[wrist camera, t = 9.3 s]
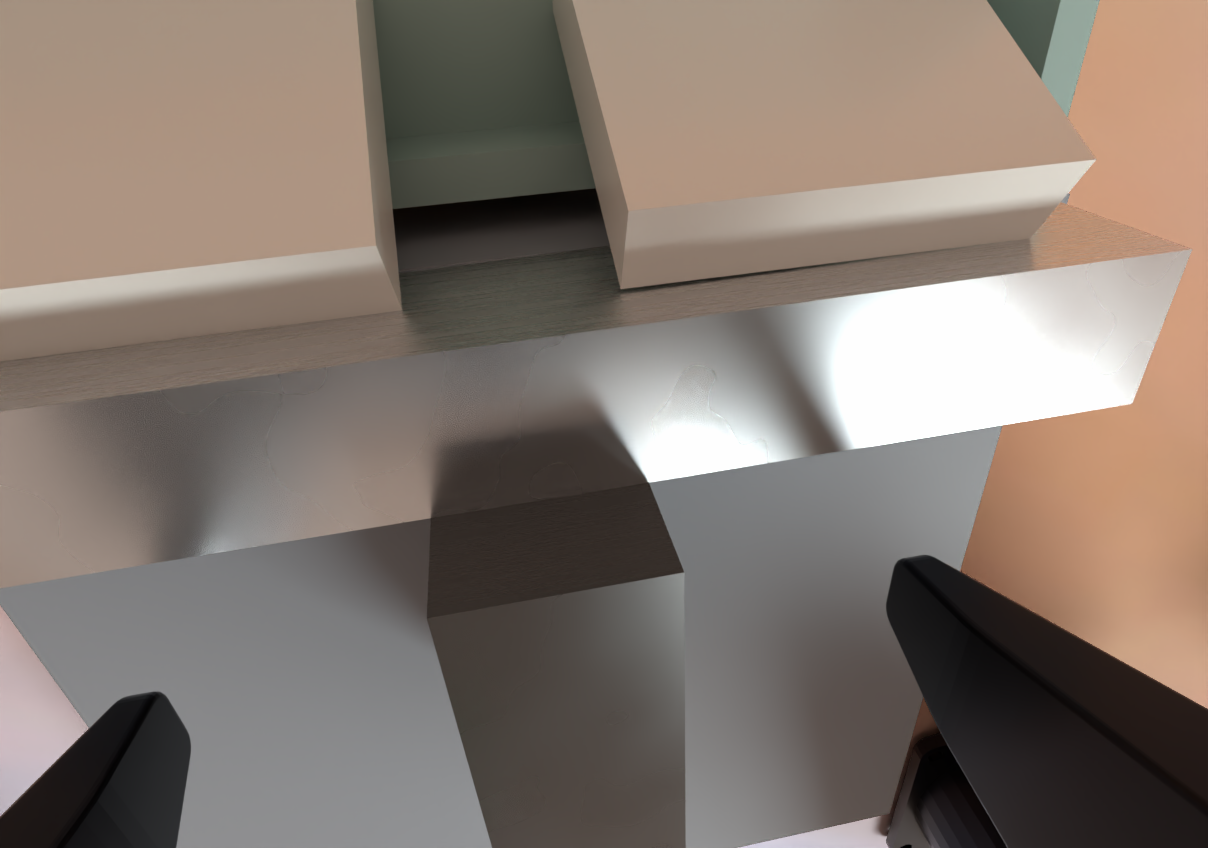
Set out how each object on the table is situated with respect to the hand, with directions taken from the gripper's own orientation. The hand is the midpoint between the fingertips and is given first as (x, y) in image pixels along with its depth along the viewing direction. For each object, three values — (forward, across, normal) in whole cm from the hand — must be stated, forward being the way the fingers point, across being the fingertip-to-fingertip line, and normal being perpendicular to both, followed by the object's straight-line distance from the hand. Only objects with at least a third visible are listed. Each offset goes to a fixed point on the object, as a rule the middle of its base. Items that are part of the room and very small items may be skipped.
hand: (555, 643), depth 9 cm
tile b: (+4, +4, -5) cm, 7 cm away
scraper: (+3, 0, 0) cm, 3 cm away
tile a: (+4, -4, -5) cm, 7 cm away
